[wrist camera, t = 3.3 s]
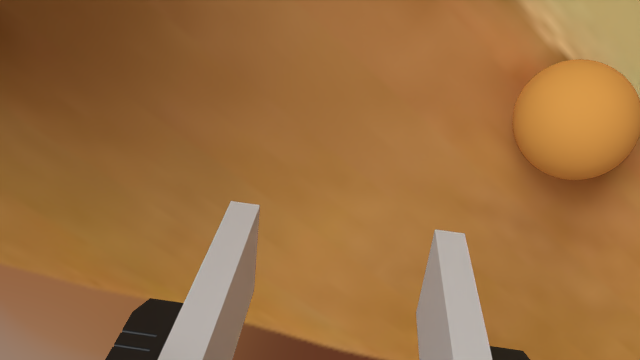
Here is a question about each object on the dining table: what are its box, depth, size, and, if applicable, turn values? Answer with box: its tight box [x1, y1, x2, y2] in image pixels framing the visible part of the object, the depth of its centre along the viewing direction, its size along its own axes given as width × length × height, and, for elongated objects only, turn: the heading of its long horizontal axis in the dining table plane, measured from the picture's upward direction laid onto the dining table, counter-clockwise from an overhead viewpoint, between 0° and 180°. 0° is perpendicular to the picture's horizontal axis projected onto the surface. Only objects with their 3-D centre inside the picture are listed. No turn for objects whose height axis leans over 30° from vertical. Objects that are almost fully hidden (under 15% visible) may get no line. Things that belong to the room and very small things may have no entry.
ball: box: [512, 59, 640, 180], centre depth 28 cm, size 6×6×6 cm
